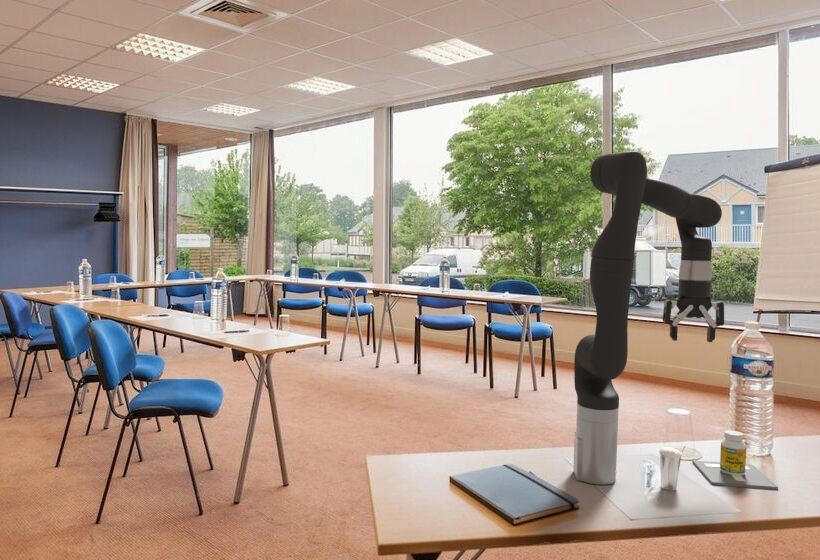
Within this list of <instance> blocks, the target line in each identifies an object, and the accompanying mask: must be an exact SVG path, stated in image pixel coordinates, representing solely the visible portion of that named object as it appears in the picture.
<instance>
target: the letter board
mask: <svg viewBox="0 0 820 560" xmlns="http://www.w3.org/2000/svg"><path fill="white" fill-rule="evenodd" d="M692 464H693V465H694V466H695V467H696V468H697V469H698V471H699V472H700V473H701V474H702V475H703V477H704V478H705V479H706V480H707V481H708V482H709V483H710V485H712V486H713V485H714V486H725V487H739V488H752V489H764V490H765V489H766V490H777V491H778V490H779V487H778V486H779V485H776V483H774V482H773V481H772V480H770V479H769V478H768V476H766V475H765V474H764V473H763V472H762V471H761V470H760V469H758V468H757V467H756V466H755V465H754V464H752V463H746V466H745V474H744V475H742V476H732V475H728V474H725V473H723V472H722V471H721V470H720V461H708V460H694V459H693V460H692Z"/></svg>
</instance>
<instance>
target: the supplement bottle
mask: <svg viewBox="0 0 820 560" xmlns="http://www.w3.org/2000/svg"><path fill="white" fill-rule="evenodd" d="M723 435H724V436H723V437H724V439H722V440H721V441H720V456H719V457H720V458H719V462H720V470H721V471H722V472H723V473H725V474H728V475H732V476H742V475H744V474H745V466H746V464H747V462H746V461H747V445H746V443H745V442H744V433H743V432H741V431H737V430H732V429H731V430H725V431H724V433H723Z"/></svg>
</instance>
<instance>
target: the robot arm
mask: <svg viewBox="0 0 820 560" xmlns="http://www.w3.org/2000/svg"><path fill="white" fill-rule="evenodd" d="M589 173H590V174H589V176H590V177H589V178H590V181H591V183H592V185H593V187H594V188H595V189H596V190H597V191H598V192H600V193H604V194H609V195H613V196H615V201H614V208H613V211H612V214H611V216H610V219H609V221H608V222H607V224H606V225H605V227H604V228H603V230H602V232H601V233H600V235H599V236H598V238H597V240H596V241H595V243H594V245H593V248H592V252H591V257H590V266H589V267H590V268H589V270H590V271H589V285H590V290H591V295H592V298H593V302H594V306H595V312H596V313H595V314H596V323H595V332H594V333H595V334H588V335H585V336H584V337H583V338H581V339H580V340H579V342H578V343H577V345H576V348H575V352H574V366H573V367H574V368H573V370H574V375H573V376H574V377H573V378H574V389H575V393H576V396H577V397H576V398H577V401H576V429H575V432H574V442H573V443H574V444H573V445H574V446H573V473H574V477H575V480H576V481H580V482H585V483H587V484H593V485H600V486H601V485H611V484H614V483H615V482H616V480H617V463H618V461H617V457H618V439H619V438H618V435H619V434H618V433H619V432H618V431H619V430H618V429H619V410H620V409H619V408H620V396H619V394H618V392H617V391H616V389H615V386H614V385H613V382H612V380H615V379H617V378H619V376H621V375H622V373H623V371H625V368H626V366H627V363H628V344H629V343H628V337H629V336H628V323H629V322H628V321H629V320H628V319H629V311H630V310H629V309H630V299H631V298H630V296H631V288H632V281H633V273H634V263H635V249H636V241H637V240H636V239H637V235H638V234H637V233H638V225H639V219H640V212H641V208H642V205H644V206H648V207H650V208H651V209H654V210H657V211H658V212H660V213H663V214H665V215H667V216H669V217H671V218H674V219H675V222H676V228H677V231H678V235H679V238H680V244H681V251H680V265H679V268H678V269H679V271H678V290H677V293H678V294H677V300H669V299H665V300H664V303H663V313H662V322H663V323H665V324H667V325H668V326H669V338H671V340H672V341H674V342H677V341H678V329H679V327H678V324H680V323H681V322H682V321H683V320H684V319H685V318H688V319H691V318H692V319H693V318H696V319H701V318H702V319H703V320H704V322H706V324H707V325H708V326H707V329H706V342H707V343H713V341H715V339H716V329H717V327H719V326H721V327H722V326H724V325H725V304H724V302H722V301H719V300H718V301H716V302H715V301H713V302H712V301H711V296H712V295H711V293H712V274H713V269H712V268H713V267H712V250H713V242H712V240H711V239H710V238H708V237H704V236H700V235H699V233H698V231H697V228H701V229H703V228H713V227H714V226H716V225H717V224H719V222H720V221H721V219H722V216H723V212H722V208H721V205H720V204H719V203H718V202H717V201H716V200H715V199H713V198H711V197H708V196H705V195H701V194H698V193H693V192H692V193H691V192H689V191H687V190H685V189H683V188H681V187H679V186H677V185H675V184H674V183H671V182H668V181H665V180H660V179H655V178H650V177H647V176H648V165H647V161H646V158H645V157H644V155H643V154H642V153H641V152H640V151H638V150H637V151H636V150H627V151H626V150H625V151H618V152H610V153H606V154H602V155H600V156H598V157H597V158H596V159H595V160H594V161H593V163H592V165H591V167H590V172H589ZM675 306H676V308H677V309H678V311H677V312H676V313H675V314H674V316H673V318H672V319H671V317H672V316H671V315H672V310H673V309H674V308H675ZM712 307H713V310H714V311H715V320H714V318H713V317H712V316H711V315H710V313H709V311H710V309H711V308H712Z"/></svg>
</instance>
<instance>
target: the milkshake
mask: <svg viewBox="0 0 820 560" xmlns="http://www.w3.org/2000/svg"><path fill="white" fill-rule="evenodd" d="M685 448H686V445H684V446H683V448H682V450H681V451H680V450H679V449H677V448H674V447H671V446H668V447H667V446H664V447H661V448H660V449H659V451H658V452H659V465H660V468H659V469H660V470H659V471H660V472H659V473H660V488H661V489H663V490H665V491H671V492H674V491H677V488H678V481H679V471H680V466H681V460H682V453H683V452H684V450H685Z"/></svg>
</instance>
